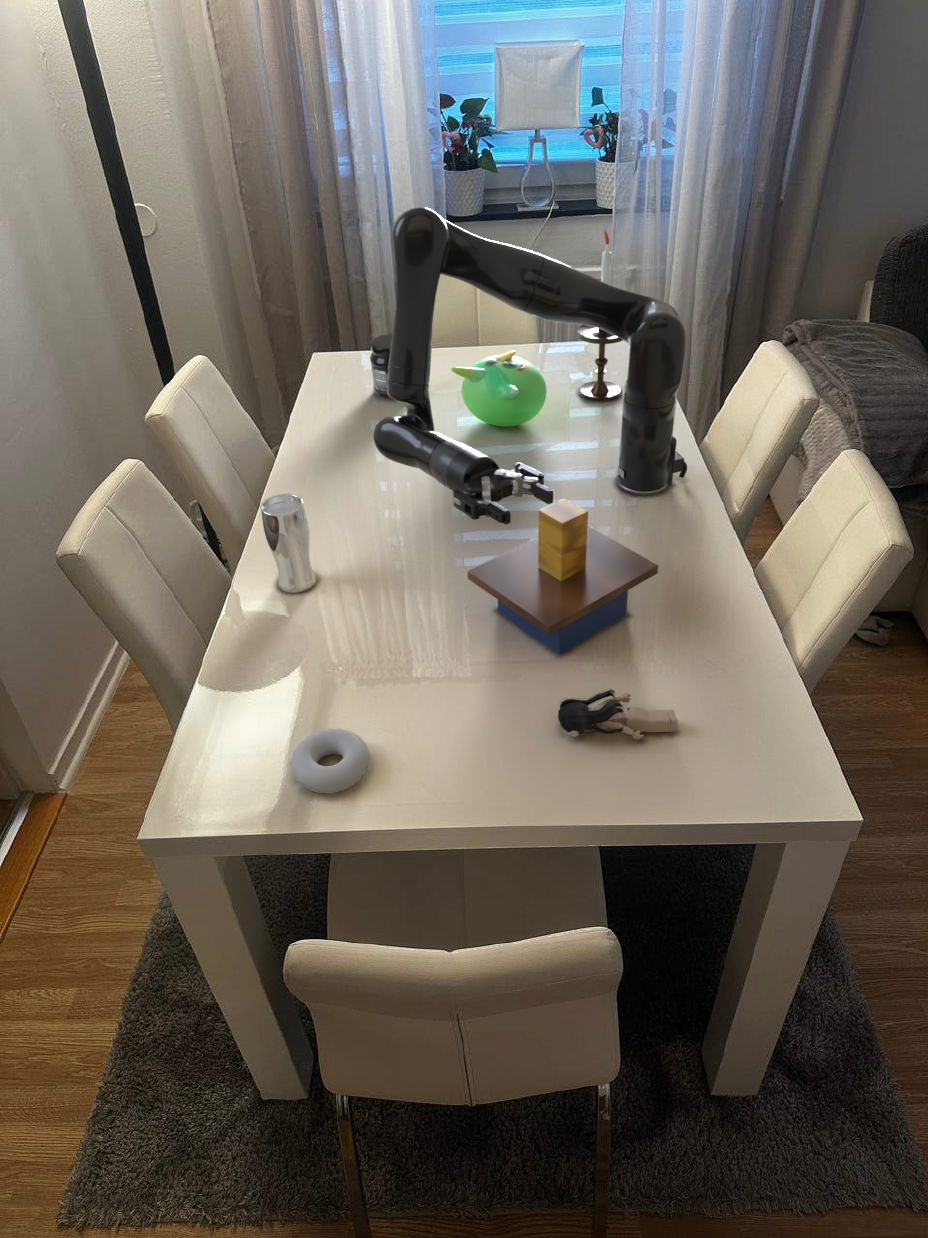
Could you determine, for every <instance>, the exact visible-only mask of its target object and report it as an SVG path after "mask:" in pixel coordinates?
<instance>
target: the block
mask: <svg viewBox="0 0 928 1238" xmlns="http://www.w3.org/2000/svg"><path fill="white" fill-rule="evenodd" d="M588 519H589V511H588V510H587V509H585V508H583V507H582V506H579V505H577V504H576V503H574V502H572V501H571V500H568V499H567V498H566V497H565V498H561V499H559V500H557V501H554V502H553V503H551V504H547V505H546V506H544V507H542V508H540V509H538V536H539V540H538V567H539V568H540V569H542V570H543V571H545V572H546V573H548V574H550V575H551V576H553V577H554V578H556V579H557V580H559V581H561V582H562V581H564V580H565V579H567V578H569V577H571V576H573V575H575V574H577V573H579V572H580V571H582V570H584V569H586V547H587V526H589V525H588V523H589V522H588V521H589V520H588Z"/></svg>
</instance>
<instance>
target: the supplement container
mask: <svg viewBox="0 0 928 1238" xmlns="http://www.w3.org/2000/svg"><path fill="white" fill-rule="evenodd" d="M391 339H392V333H386V334H381V335H378V336H376V337H374V338H373V339H372V340H371V341H370V350H371V354H370V356H369V361H370V365H371V374H372V382H373V391H374V393H375V394H376V395H377V396H378V397H380V398H382V399H385V400H392V399H391V398H390V397H389V395H388V392H387V383H388V368H389V355H390V346H391Z"/></svg>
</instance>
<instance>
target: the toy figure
mask: <svg viewBox="0 0 928 1238" xmlns="http://www.w3.org/2000/svg"><path fill="white" fill-rule="evenodd" d="M615 696H616V692H615V690H614V689H612V688H611V687H609V688H607V690H604V691H603V690H601V691H600V692H599V693H598V692H596V693H594V694H593V695H591V696H590V697H588V698H587V699H580V698H578V697H575V698H565V697H564V698H562V699H560V702H559V703H558V704H559V709H558V712H557V719H558V722H559V724H560V727H561V728H562V729H563V731H564V734H565V735H568V736H570V737H572V738H575V737H577V736H579V735H581V734H582V735H583V734H584V735H585V734H591V731H592V733H601V734H604V735H611V734H616V733H617V734H619V733H623V734H627V735H629V736H631V737H632V739H633V740H641V739H642V738H643V737H644V736H645V735H644V734H641V733H642V732H643V733H667V732H668V733H669V732H675V730H676V728H677V724H678V718H677V715H676V713H675V710H674V709H662V710H660V709H659V710H646V709H641V708H636V707H633V708H629V707H628V706H627V704H628V703H629V702H630V701H631V696H632V694H631V693H623V695H621V696H617V697H615ZM608 697H611V698H608ZM605 698H607V699H606V700H604V701H602V702H600V703H598V704H596V705H595V706H594V707H593V708H591V706H590V705H591V704H594V703H596V702H597V701H600V700H602V699H605ZM561 700H562V701H561ZM622 702H623V703H622ZM626 703H627V704H626Z"/></svg>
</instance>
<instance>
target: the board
mask: <svg viewBox="0 0 928 1238" xmlns="http://www.w3.org/2000/svg"><path fill="white" fill-rule="evenodd" d="M538 540H539V535H537V536H535V537H533V538H531V539H529V540H527V541H525V542H523V543H521V544H519V545H517V546H515V547H513V548H511V549H509V550H507V551H505V552H503V553H500V554H499V555H497V556H495V557H493V558H491V559H489V560H487V561H485V562H483V563H480V564H479V565H477V566H474V567H472V568H471V569H469V570H467V580H469V581H470V582H472V583H473V584H474V585H476V586H477V587H479V589H481V590H483V591H484V592H486V593H488V594H489V595H491V596H492V597H493V598H495V600H497V601H498V600H499V601H500V602H502V603H503V604H505V605H506V606H508V607H509V608H511V609H512V610H513V611H515V612H516V613H518V614H519V615H521V616H522V617H523V618H525V619H526V620H528V621H529V622H531V623H532V624H534V625H535V626H536V627H538V628H539V629H541V630H542V631H544V632H545V633H546V634H548V635H551V634H552V633H554V632H556V631H558V630H559V629H561V628H563V627H565V626H566V625H568V624H570V623H572V622H573V621H575V620H577V619H579V618H580V617H582V616H584V615H586V614H587V613H589V612H591V611H593V610H594V609H596V608H598V607H600V606H601V605H603V604H605V603H607V602H608V601H610V600H612V599H614V598H615V597H617V596H619V595H621V594H622V593H624V592H626V591H628V592H629V591H630V590H632V589H633V588H635V587H637V586H638V585H640V584H642V583H643V582H645V581H647V580H649V579H650V578H652V577H654V576H656V575H658V573H659V564H657V563H655V562H653V561H652V560H650V559H648V558H646V557H645V556H642V555H641V554H639V553H637V552H636V551H634V550H632V549H630V548H628V547H626V546H625V545H623V544H621V543H619V542H618V541H616V540H614V539H612V538H611V537H608V536H607V535H605V534H604V533H602V532H600V531H598V530H596V529H594V528H592V527H591V526H589V525H587V547H586V569H584V570H582V571H580V572H579V573H577V574H575V575H573V576H571V577H569V578H567V579H565V580H564V581H562V582H561V581H559V580H557V579H556V578H554V577H553V576H551V575H550V574H548V573H546V572H545V571H543V570H542V569H540V568H539V567H538Z"/></svg>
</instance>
